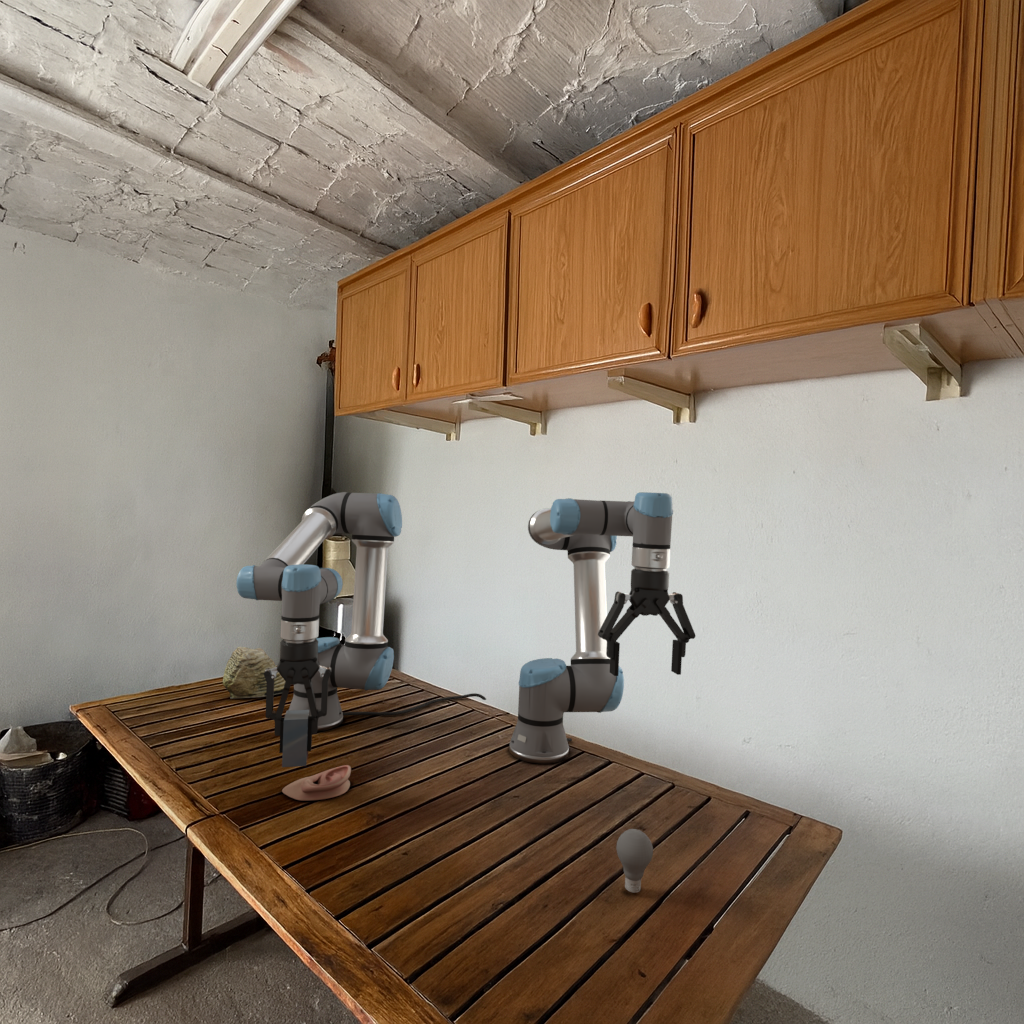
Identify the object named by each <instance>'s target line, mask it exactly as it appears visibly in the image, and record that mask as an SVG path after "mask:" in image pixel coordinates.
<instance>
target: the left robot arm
mask: <svg viewBox="0 0 1024 1024" xmlns="http://www.w3.org/2000/svg"><path fill="white" fill-rule="evenodd" d="M402 528H403V516H402V509H401V505H400V502H399V500H398V499H397V497H396V496H395V495H392V494H388V493H381V492H378V493H376V492H375V493H374V492H372V493H371V492H349V491H342V492H336V493H333V494H330V495H328V496H326V497H323V498H321V499H320V500H318V501H317V502H315V503H313V504H312V505H311V506H310V507H308V508H307V510H305V512H304V513H303V514H302V515H301V522H299V523H298V525H296V527H295V528H294V529H293V530H292V531H290V533H289V534H288V535H287V536H286V537H285V538H284V539H282V541H281V542H280V543H279V545H278V546H277V547H276V548H275V549H273V551H272V552H271V553H270V554H269V555H268V556H267V557H265V559H264V560H263V562H261V564H259V565H255V564H253V565H246V566H243V567H242V568H241V569H240V570H239V572H238V574H237V577H236V589H237V593H238V594H239V595H238V596H240V597H241V598H242V599H249V600H255V601H271V602H272V601H274V602H275V601H276V602H281V616H280V617H281V618H280V639H281V641H280V644H279V662H278V663H277V665H276V667H274V668H271V669H270V668H267V669H266V670H265V672H264V677H265V680H266V682H267V688H266V696H265V718H266V719H268V720H269V719H271V720H273V721H274V736H275V737H279V754H283V727H284V718H285V716H283V713H284V709H285V706H286V703H287V699H288V696H289V693H290V689H291V687H292V686H293V695H292V696H293V697H292V699H291V702H290V704H289V708H288V710H310V716H309V720H308V743H307V751H308V752H312V746H313V735H317V733H318V732H325V731H329V730H332V729H335V728H337V727H339V726H340V725H342V723H343V722H344V717H347V716H379V717H381V716H382V717H385V716H386V717H387V716H389V717H390V716H399V715H403V714H407V713H410V712H414V711H417V710H420V709H422V708H425V707H428V706H430V705H431V704H436V703H439V702H444V701H451V700H460V699H461V700H462V699H466V698H471V697H473V698H474V697H476V698H480V699H481V700H483V701H486V700H487V698H486V697H485V696H484V695H483V694H481V693H476V692H475V693H467V694H463V695H454V696H446V697H440V698H436V699H435V698H434V699H431V700H429V701H426V702H424V703H422V704H418V705H416V706H413V707H410V708H407V709H402V710H398V711H387V712H385V711H384V712H383V711H343V709H342V706H341V702H340V699H339V695H338V689H339V688H340V689H354V690H364V691H379V690H382V689H383V688H384V687H385V686H386V685H387V684H388V681H389V679H390V676H391V673H392V670H393V666H394V661H395V652H394V648H392V647H390V646H388V645H389V643H388V642H389V639H388V638H387V637H386V636H385V635H384V621H385V620H384V619H385V602H386V589H387V573H388V556H389V549H390V547H391V546H392V545H393V544H394V543H395V538H396V537H399V536H400V535H401V534H402ZM337 534H346V535H347V534H348V535H351V542H352V543H353V544H354V546H355V547H356V553H355V554H356V555H355V567H354V569H355V571H354V584H353V585H354V586H353V598H352V599H353V600H352V614H351V615H352V616H351V630H350V634H349V635H348V636H347V637H346V638H345V639H344V644H341V641H340V639H339V638H338V637H334V636H325V637H319V633H320V632H319V630H320V606H321V605H322V604H325V603H329V602H331V601H333V600H335V598H337V597H338V596H339V595H340V594H341V592H342V590H343V587H344V582H343V578H342V576H341V574H340V573H339V572H338V571H337V570H335V569H334V568H330V567H319V566H318V565H315V564H305V563H306V562H307V561H308V560H309V559H310V558H311V556H313V554H314V553H315V551H316V550H317V549H318V548H319V547H320V546H321V544H322V543H323V542H324V541H325V540H328V539H330V538H331V537H333V536H334V535H337ZM277 672H279V673H280V675H281V676H282V677H283V679H284V680H285V685H284V688H283V692H282V693H281V694H280V695H281V696H280V699H279V701H278V705H277V709H276V710H274V699H275V698H274V697H275V695H274V679H275V678H276V673H277Z"/></svg>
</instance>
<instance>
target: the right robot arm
mask: <svg viewBox="0 0 1024 1024" xmlns="http://www.w3.org/2000/svg"><path fill="white" fill-rule="evenodd" d="M673 514H674V509H673V497H672V495H671V494H670V493H668V492H666V493H665V492H649V491H648V492H647V491H646V492H645V491H644V492H637V493H636V494H635V496H634V501H630V500H628V501H623V500H593V499H575V498H569V497H568V498H556V499H555V500H554V501H553V502H552V504H551V507H549V508H547V507H545V508H542V509H539V510H537V511H535V512H534V513H533V514H532V515H531V516H530V518H529V520H528V524H527V531H528V535H529V536H530V538H531V540H532V541H533V542H534V543H536V544H537V545H539V546H541V547H543V548H546V549H549V550H555V551H567V559H568V560H569V561H570V562H571V563H572V564H573V590H574V591H573V592H574V593H573V594H574V595H573V597H574V627H575V653H574V654H573V655H572V656H571V657H570V665H567V664H566V661H565V660H563V659H560V658H552V657H545V658H537V659H532V660H529V661H527V662H526V663H525V664H523V665H522V666H521V668H520V671H519V680H518V705H517V707H518V708H517V722H516V724H515V726H514V730H513V733H512V734H511V735H512V736H511V738H510V740H509V745H508V746H509V750H508V751H509V753H510V755H511V756H512V757H514V758H516V759H518V760H520V761H524V762H526V763H530V764H531V763H532V764H541V765H544V764H545V765H547V764H556V763H559V762H562V761H564V760H567V758H568V757H569V755H570V754H569V753H570V746H569V743H570V742H573V738H571V737H567V734H566V730H565V726H564V713H598V714H599V713H600V714H601V713H606V712H613V711H615V710H616V709H618V708H619V706H620V704H621V702H622V699H623V695H624V690H625V689H624V688H625V675H624V674H623V673H624V671H623V668H622V667H621V666H620V645H621V644H620V642H619V641H618V639H620V637H621V636H622V635H623V634H624V632H625V631H626V630H627V629H628V627H630V625H631V624H632V623H633V622H634V620H636V618H638V617H639V616H640V615H641V616H643V617H644V616H653V617H654V616H658V615H659V617H661V619H662V620H663V622H664V623H665V624H666V626H667V627H668V629H669V630H670V631H671V632H672V634H673V636H675V638H676V639H672V645H671V646H672V649H671V667H670V671H671V672H672V673H674V674H676V675H677V676H678V675H679V676H680V675H682V663H683V662H682V661H683V658H685V657H686V651H687V650H686V649H687V644H688V643H689V642H690V640H691V639H692V640H693V639H694V640H695V638H696V633H695V630H694V628H693V625H692V623H691V620H690V618H689V616H688V613H687V611H686V608H685V606H684V596H683V594H682V593H680V592H676V591H673V592H671V593H669V588H670V572H669V571H668V569H669V568H670V567H671V566H670V564H671V541H672V525H673ZM618 537H632V546H631V547H632V552H631V566H632V569H631V571H630V591H629V593H624V592H621V591H615V594H614V599H613V604H612V605H611V607H610V609H609V611H608V605H607V604H608V603H607V581H606V563H607V561H608V559H610V558H611V552H614V550H615V549H616V547H617V540H618ZM628 601H629V602H630V605H629V606H628V608H627V609H626V612H624V614H623V615H622V617H621V618H619V617H620V615H621V613H622V611H623V609H624V607H625V605H626V604H627V603H628ZM669 602H670V604H671V605H672V607H673V610H674V612H675V615H676V617H677V620H678V622H679V624H678V623H677V622H676V620H675V619H674V617H673V616H672V615H671V612H670V611H669V609H668V608H667V604H668V603H669ZM618 619H619V620H618Z"/></svg>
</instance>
